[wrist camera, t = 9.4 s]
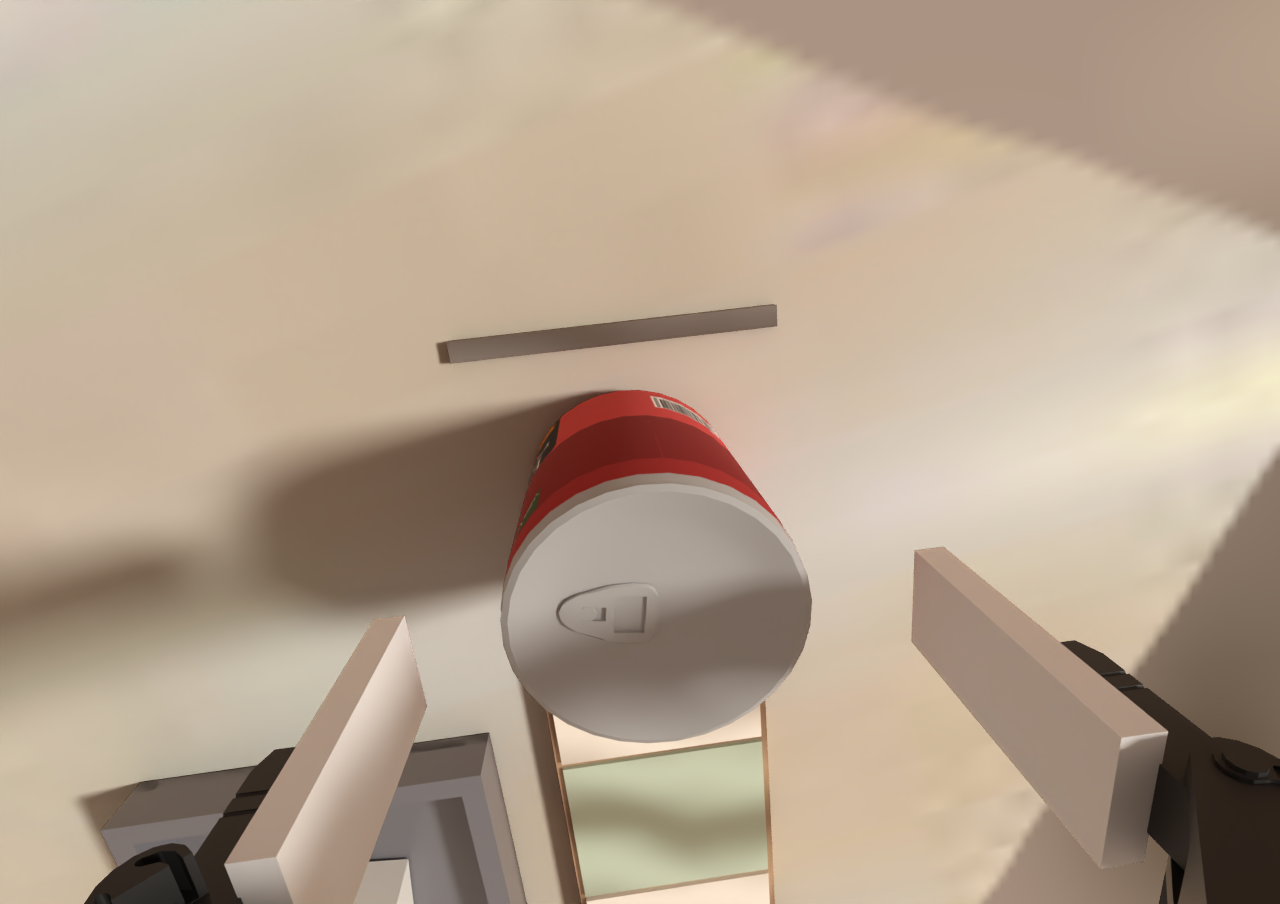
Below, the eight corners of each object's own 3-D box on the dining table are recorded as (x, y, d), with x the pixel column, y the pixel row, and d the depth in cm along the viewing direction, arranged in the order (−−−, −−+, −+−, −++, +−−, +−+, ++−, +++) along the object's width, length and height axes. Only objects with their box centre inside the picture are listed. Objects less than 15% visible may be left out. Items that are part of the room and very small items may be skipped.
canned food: (512, 407, 25) (458, 522, 14) (708, 365, 25) (796, 448, 14) (558, 574, 27) (541, 776, 17) (737, 535, 27) (830, 711, 17)
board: (448, 340, 24) (441, 345, 23) (773, 304, 24) (782, 306, 23) (577, 990, 35) (576, 1015, 34) (795, 955, 36) (801, 978, 35)
